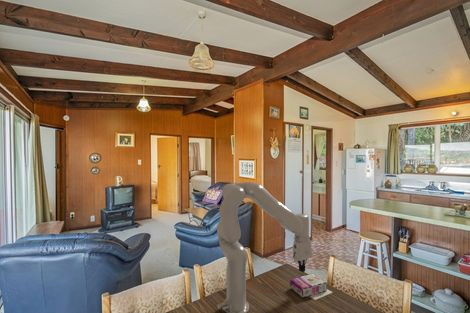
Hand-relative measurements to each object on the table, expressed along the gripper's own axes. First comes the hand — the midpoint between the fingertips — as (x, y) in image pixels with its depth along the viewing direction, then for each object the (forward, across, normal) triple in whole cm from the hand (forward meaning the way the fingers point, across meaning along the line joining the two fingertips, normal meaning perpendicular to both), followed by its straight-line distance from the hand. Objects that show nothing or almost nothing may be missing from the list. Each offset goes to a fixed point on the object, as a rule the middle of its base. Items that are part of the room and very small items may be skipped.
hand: (302, 270), depth 136 cm
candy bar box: (+8, -5, 0) cm, 10 cm away
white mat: (+11, +6, 0) cm, 13 cm away
